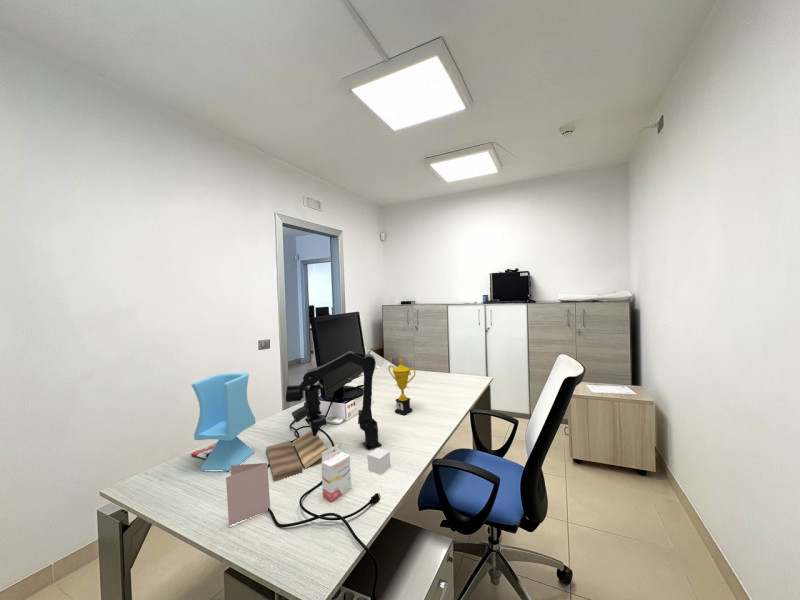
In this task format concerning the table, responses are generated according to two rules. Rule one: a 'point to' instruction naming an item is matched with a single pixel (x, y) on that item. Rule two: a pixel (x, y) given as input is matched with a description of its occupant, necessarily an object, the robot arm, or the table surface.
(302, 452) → the oak plank
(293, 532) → the table surface
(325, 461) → the ink cartridge box
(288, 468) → the walnut board
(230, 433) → the blue pedestal chair
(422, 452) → the table surface
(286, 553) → the table surface
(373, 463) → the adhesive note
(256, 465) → the greeting card
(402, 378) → the trophy
